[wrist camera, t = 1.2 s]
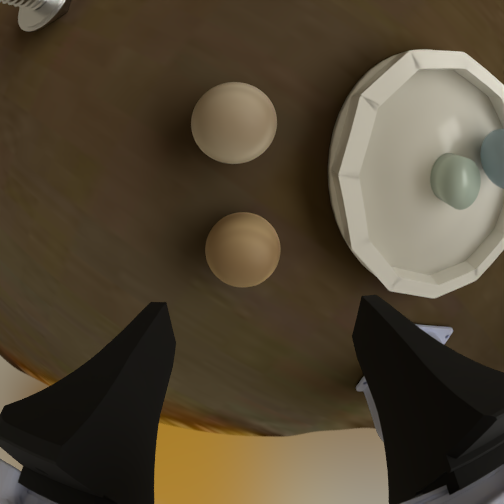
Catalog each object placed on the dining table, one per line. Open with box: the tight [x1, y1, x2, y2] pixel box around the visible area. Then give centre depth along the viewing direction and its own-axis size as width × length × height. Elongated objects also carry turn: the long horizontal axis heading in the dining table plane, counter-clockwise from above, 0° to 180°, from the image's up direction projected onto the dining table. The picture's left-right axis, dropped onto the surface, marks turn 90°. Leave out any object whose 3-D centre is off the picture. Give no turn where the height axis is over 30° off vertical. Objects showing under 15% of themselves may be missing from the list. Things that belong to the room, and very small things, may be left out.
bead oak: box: [205, 212, 281, 287], centre depth 17 cm, size 4×4×4 cm
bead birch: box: [191, 82, 277, 164], centre depth 14 cm, size 4×4×4 cm
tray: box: [328, 49, 504, 298], centre depth 16 cm, size 18×18×3 cm
